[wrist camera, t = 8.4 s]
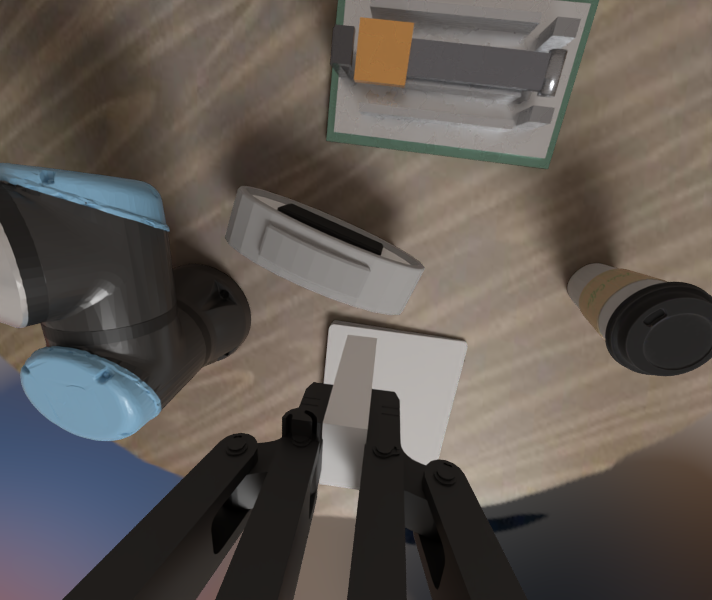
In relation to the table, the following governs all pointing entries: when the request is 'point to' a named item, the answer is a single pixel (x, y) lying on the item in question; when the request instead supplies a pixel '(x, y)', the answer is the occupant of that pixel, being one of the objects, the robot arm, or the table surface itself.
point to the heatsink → (458, 100)
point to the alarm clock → (321, 252)
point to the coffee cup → (645, 318)
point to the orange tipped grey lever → (450, 61)
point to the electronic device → (409, 379)
